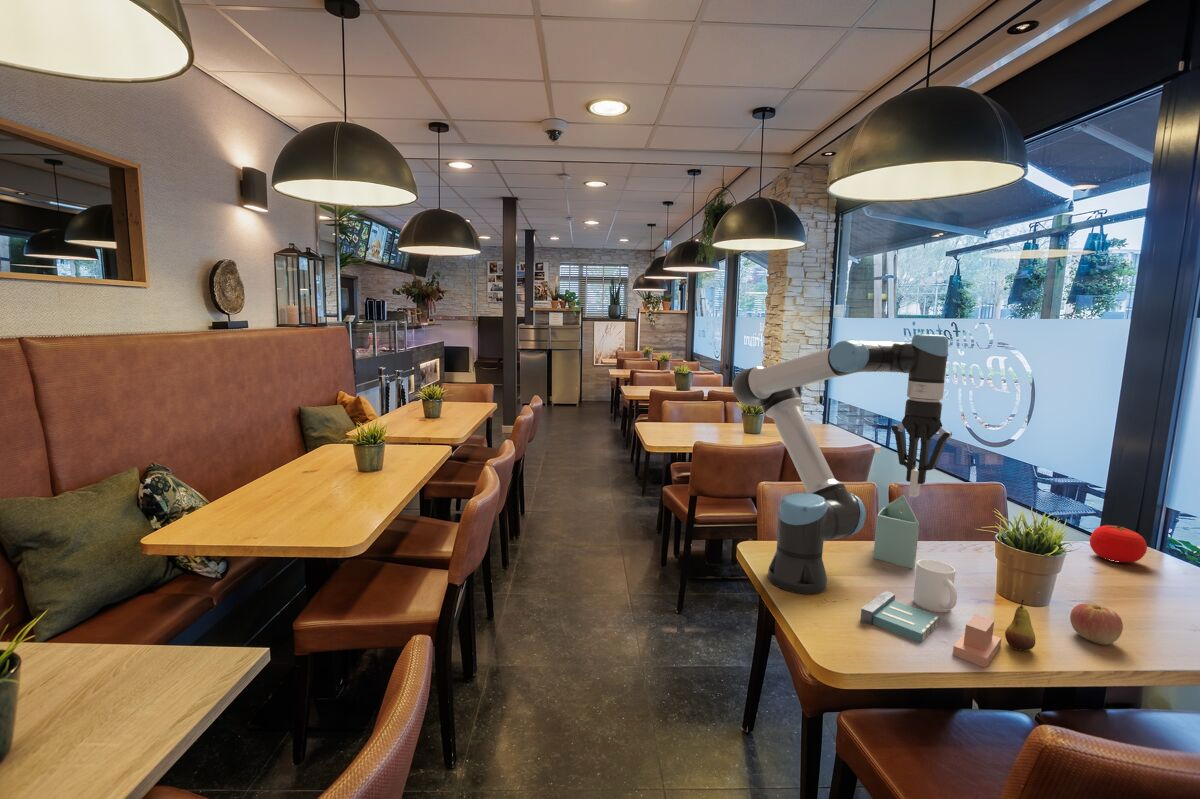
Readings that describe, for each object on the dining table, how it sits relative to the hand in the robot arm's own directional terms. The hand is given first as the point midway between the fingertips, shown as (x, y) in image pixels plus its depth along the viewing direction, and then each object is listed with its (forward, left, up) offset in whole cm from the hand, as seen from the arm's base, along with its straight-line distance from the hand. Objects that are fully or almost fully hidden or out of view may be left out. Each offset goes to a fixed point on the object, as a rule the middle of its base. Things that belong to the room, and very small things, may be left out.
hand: (913, 495), depth 137 cm
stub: (+18, -9, -28) cm, 35 cm away
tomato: (+33, +86, -29) cm, 97 cm away
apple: (+34, +18, -29) cm, 48 cm away
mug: (+6, +5, -29) cm, 30 cm away
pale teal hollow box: (-15, +30, -29) cm, 44 cm away
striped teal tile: (+2, -9, -28) cm, 30 cm away
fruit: (+24, 0, -29) cm, 37 cm away
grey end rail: (-3, -9, -28) cm, 30 cm away
